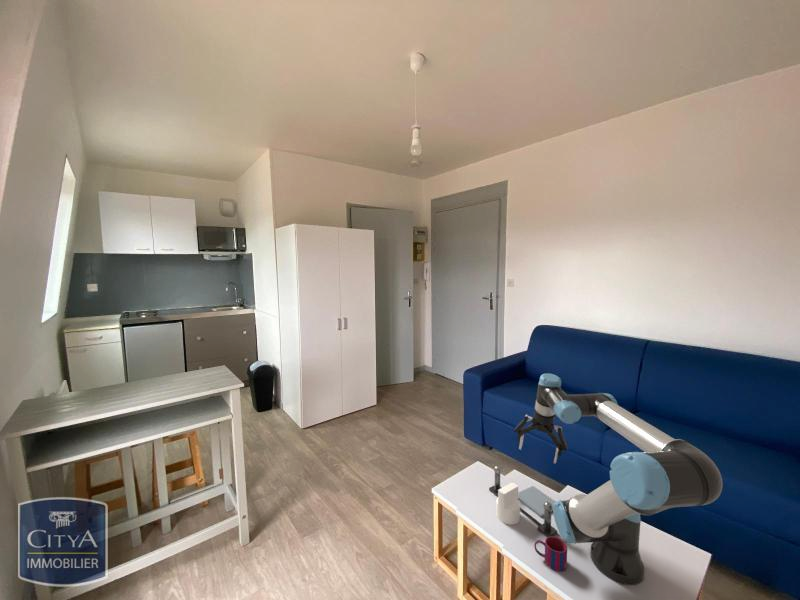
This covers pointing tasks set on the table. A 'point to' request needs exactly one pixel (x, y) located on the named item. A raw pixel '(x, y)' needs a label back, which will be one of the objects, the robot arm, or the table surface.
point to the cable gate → (543, 528)
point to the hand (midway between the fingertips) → (537, 454)
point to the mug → (554, 553)
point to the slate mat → (534, 500)
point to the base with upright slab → (508, 504)
